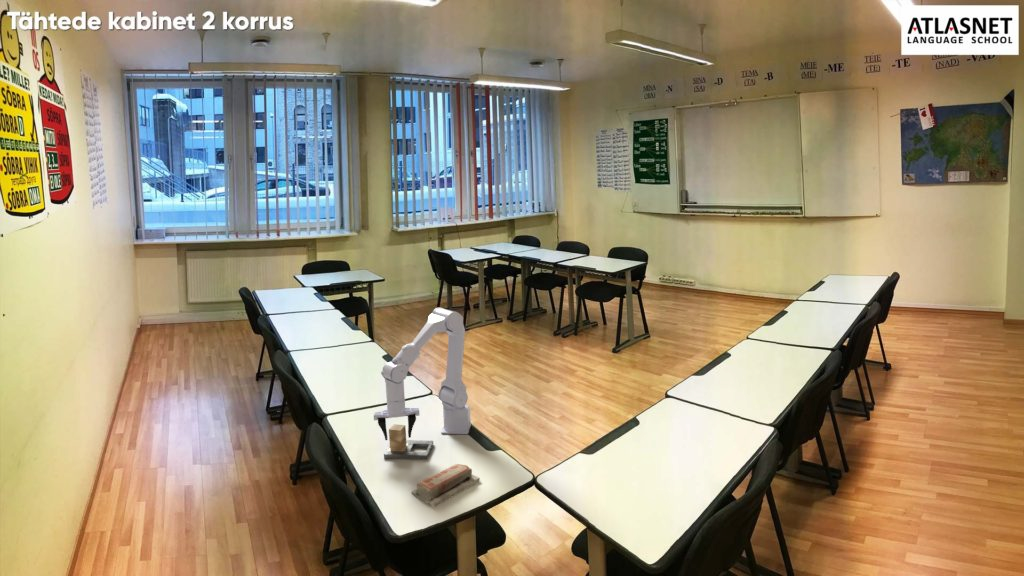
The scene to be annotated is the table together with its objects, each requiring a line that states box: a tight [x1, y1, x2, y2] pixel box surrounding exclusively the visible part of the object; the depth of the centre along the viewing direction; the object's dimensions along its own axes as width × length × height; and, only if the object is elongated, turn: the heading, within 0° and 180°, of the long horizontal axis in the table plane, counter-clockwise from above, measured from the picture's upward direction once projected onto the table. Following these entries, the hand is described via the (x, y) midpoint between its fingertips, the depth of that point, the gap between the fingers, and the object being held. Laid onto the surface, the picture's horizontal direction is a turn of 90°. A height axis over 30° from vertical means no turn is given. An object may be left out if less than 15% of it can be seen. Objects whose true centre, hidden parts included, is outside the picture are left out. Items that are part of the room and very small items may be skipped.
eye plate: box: [383, 439, 434, 461], centre depth 195 cm, size 14×10×2 cm
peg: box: [388, 423, 407, 451], centre depth 194 cm, size 4×4×7 cm
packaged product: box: [410, 463, 481, 507], centre depth 173 cm, size 18×5×10 cm
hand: (397, 437), depth 194 cm, fingers open, 7 cm apart
